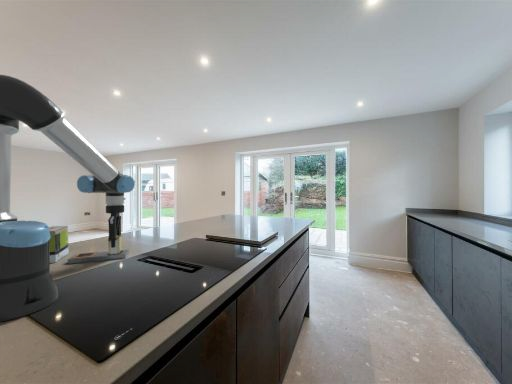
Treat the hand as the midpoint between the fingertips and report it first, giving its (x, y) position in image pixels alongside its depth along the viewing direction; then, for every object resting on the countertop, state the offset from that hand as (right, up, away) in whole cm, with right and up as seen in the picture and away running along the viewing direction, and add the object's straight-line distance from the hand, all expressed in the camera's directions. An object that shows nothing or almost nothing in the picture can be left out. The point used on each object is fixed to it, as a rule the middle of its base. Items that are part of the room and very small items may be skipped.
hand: (115, 252), depth 102 cm
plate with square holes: (-6, -2, -2) cm, 6 cm away
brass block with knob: (0, -2, 0) cm, 2 cm away
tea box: (-29, -3, -4) cm, 29 cm away
